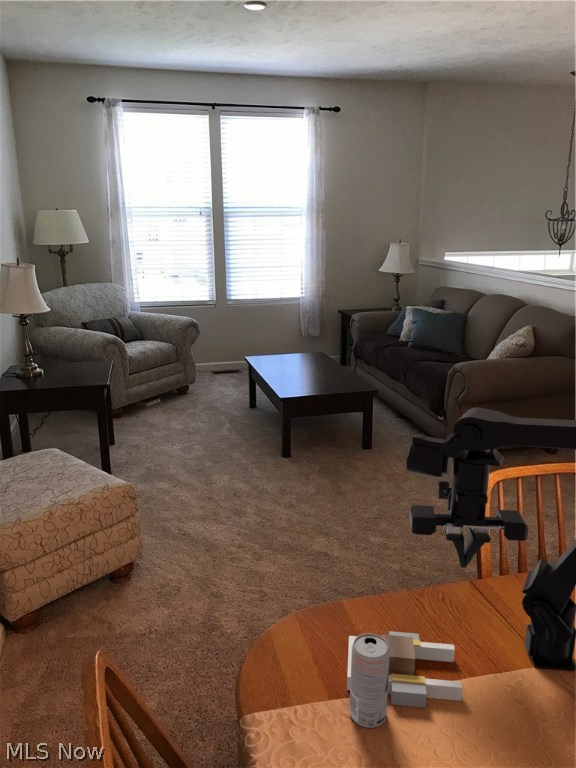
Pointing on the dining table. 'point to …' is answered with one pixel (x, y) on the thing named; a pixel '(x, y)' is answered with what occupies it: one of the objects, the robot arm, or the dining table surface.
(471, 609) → the dining table surface
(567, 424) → the robot arm
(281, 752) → the dining table surface
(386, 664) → the energy drink
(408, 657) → the block
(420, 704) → the white u-shaped frame
